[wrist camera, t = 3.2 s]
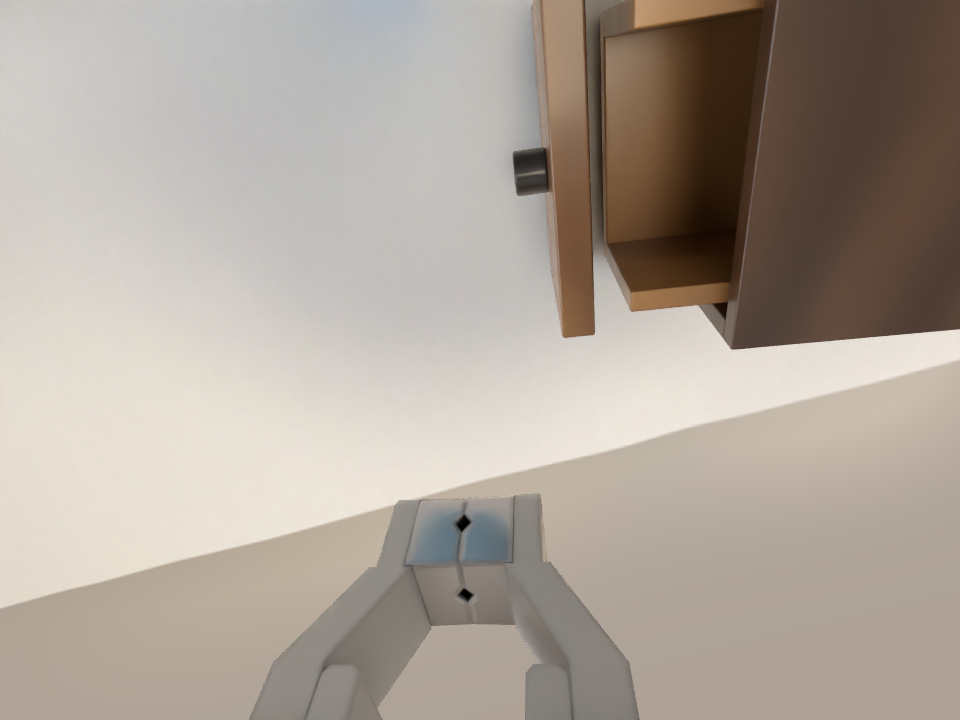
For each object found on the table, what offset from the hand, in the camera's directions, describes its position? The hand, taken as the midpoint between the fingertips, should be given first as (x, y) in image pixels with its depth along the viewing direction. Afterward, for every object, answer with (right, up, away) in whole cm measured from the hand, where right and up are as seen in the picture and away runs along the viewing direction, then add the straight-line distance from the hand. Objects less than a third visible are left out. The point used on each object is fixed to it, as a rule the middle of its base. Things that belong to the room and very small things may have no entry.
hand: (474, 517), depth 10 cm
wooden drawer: (+8, +13, +10) cm, 18 cm away
